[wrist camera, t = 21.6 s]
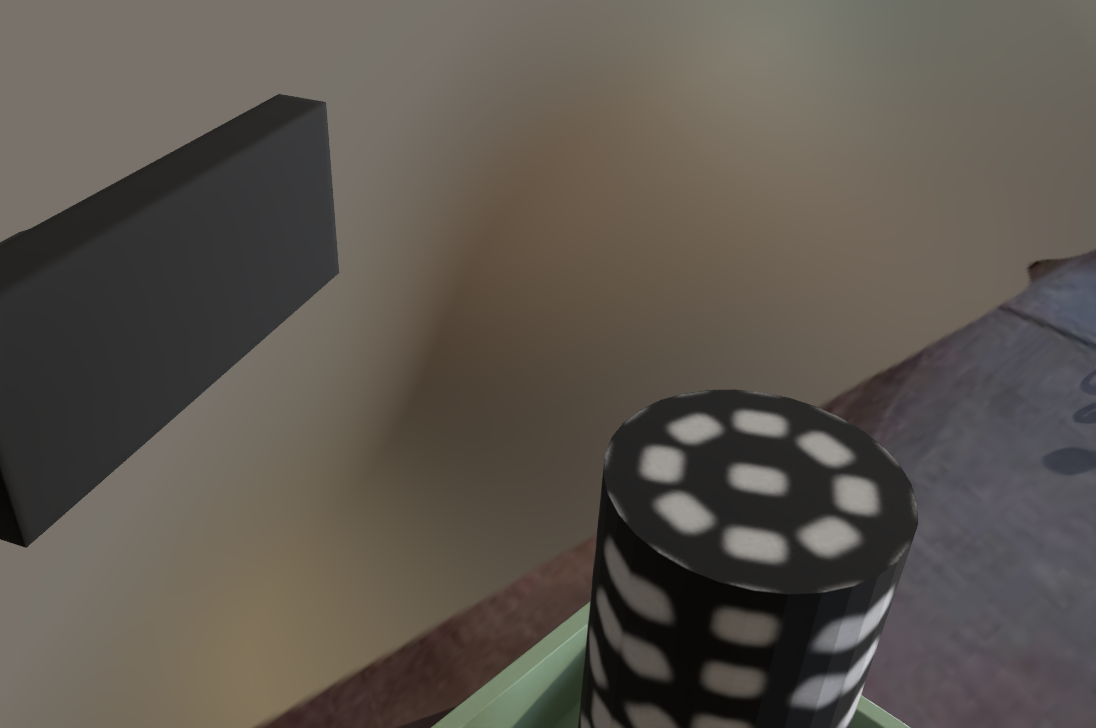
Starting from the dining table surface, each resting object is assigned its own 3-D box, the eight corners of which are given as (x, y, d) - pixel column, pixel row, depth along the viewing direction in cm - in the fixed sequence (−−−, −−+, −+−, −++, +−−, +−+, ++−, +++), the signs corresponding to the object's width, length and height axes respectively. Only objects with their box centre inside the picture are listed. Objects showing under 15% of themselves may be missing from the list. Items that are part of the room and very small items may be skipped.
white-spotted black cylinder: (784, 809, 41) (902, 413, 30) (783, 1030, 34) (936, 623, 23) (582, 768, 42) (625, 371, 31) (542, 973, 35) (578, 559, 24)
